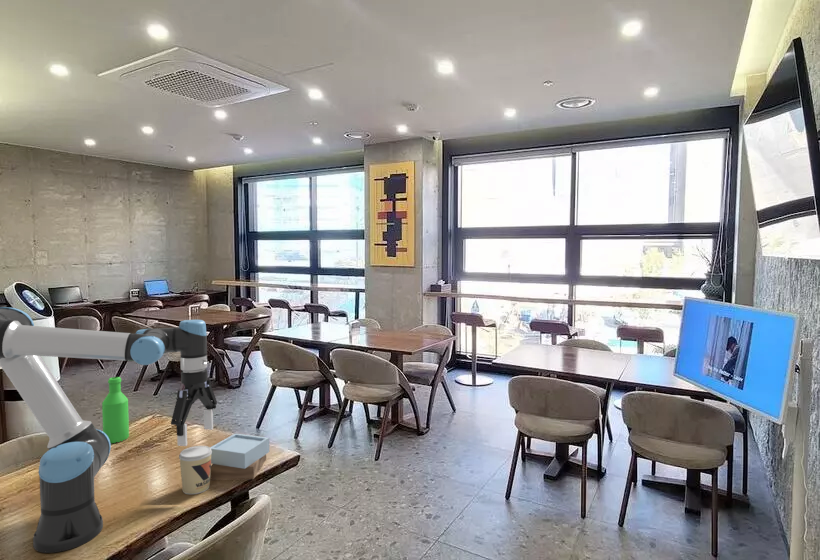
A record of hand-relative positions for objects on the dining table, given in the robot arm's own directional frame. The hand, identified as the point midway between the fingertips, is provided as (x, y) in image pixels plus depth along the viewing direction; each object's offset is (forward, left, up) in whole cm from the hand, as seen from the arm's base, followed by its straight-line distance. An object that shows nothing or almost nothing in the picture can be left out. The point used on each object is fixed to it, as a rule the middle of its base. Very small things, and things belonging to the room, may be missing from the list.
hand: (196, 436), depth 149 cm
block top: (+14, -7, -12) cm, 20 cm away
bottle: (+31, +55, -17) cm, 65 cm away
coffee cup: (0, 0, -17) cm, 17 cm away
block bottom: (+14, -7, -17) cm, 23 cm away
